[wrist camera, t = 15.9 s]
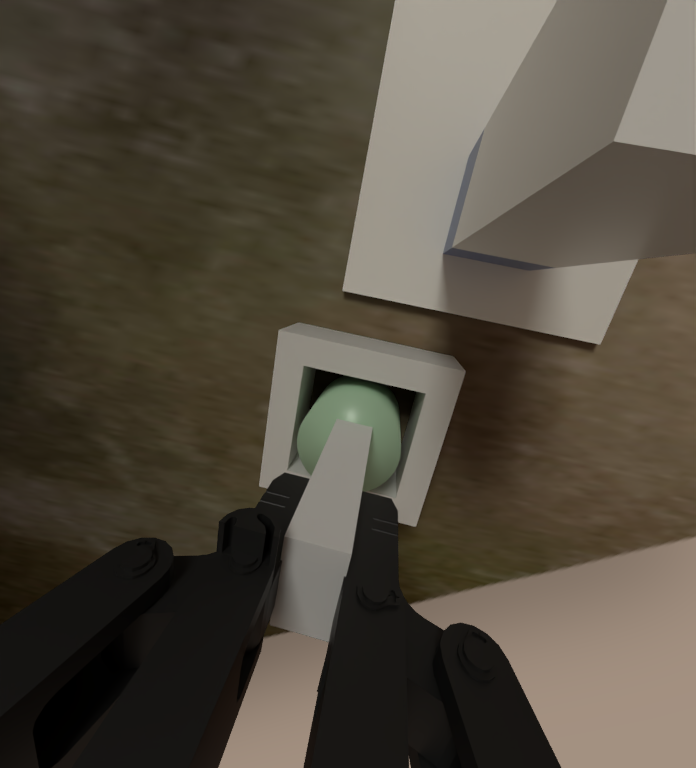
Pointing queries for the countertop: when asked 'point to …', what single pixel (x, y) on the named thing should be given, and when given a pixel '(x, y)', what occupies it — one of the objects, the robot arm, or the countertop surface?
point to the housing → (374, 363)
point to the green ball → (362, 407)
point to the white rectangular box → (589, 143)
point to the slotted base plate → (457, 175)
